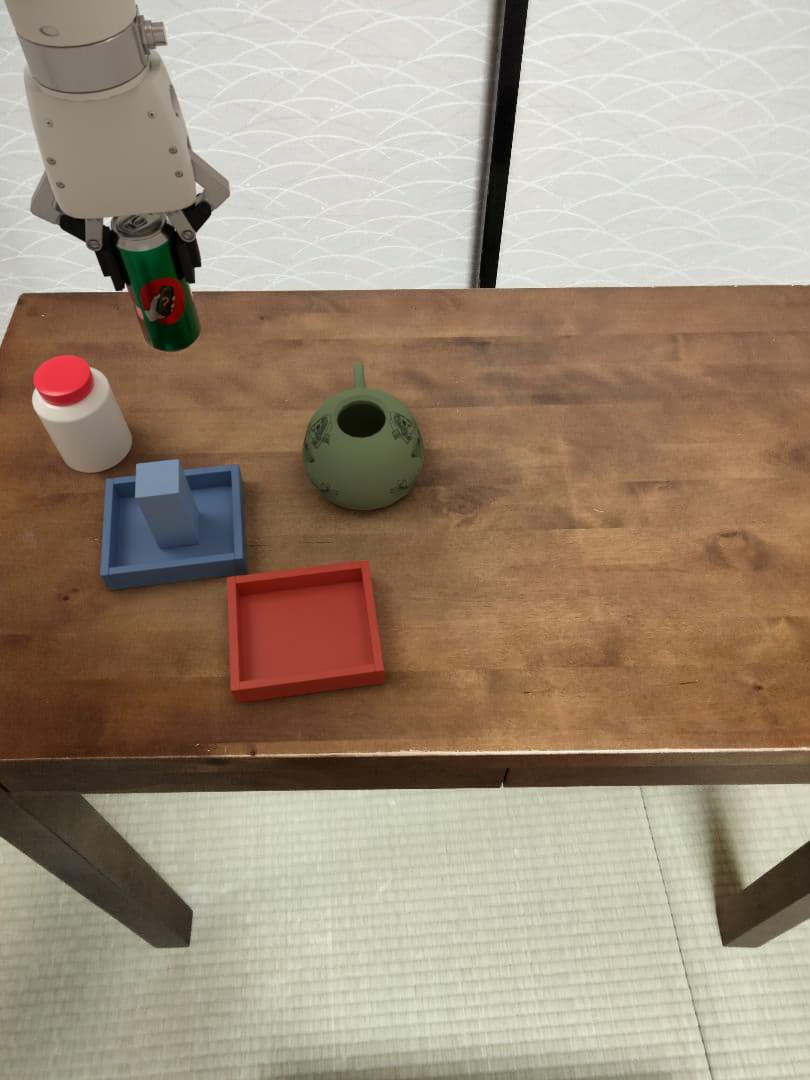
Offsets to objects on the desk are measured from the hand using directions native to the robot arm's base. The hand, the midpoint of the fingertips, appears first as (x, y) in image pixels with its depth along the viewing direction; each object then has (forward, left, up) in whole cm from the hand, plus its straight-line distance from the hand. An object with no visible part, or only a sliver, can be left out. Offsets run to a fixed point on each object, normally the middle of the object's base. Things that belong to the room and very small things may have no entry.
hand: (155, 274), depth 68 cm
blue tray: (-4, -9, -25) cm, 27 cm away
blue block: (-4, -9, -25) cm, 27 cm away
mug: (+16, -2, -25) cm, 30 cm away
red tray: (+8, -22, -25) cm, 35 cm away
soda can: (0, 0, -7) cm, 7 cm away
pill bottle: (-13, +4, -25) cm, 29 cm away
